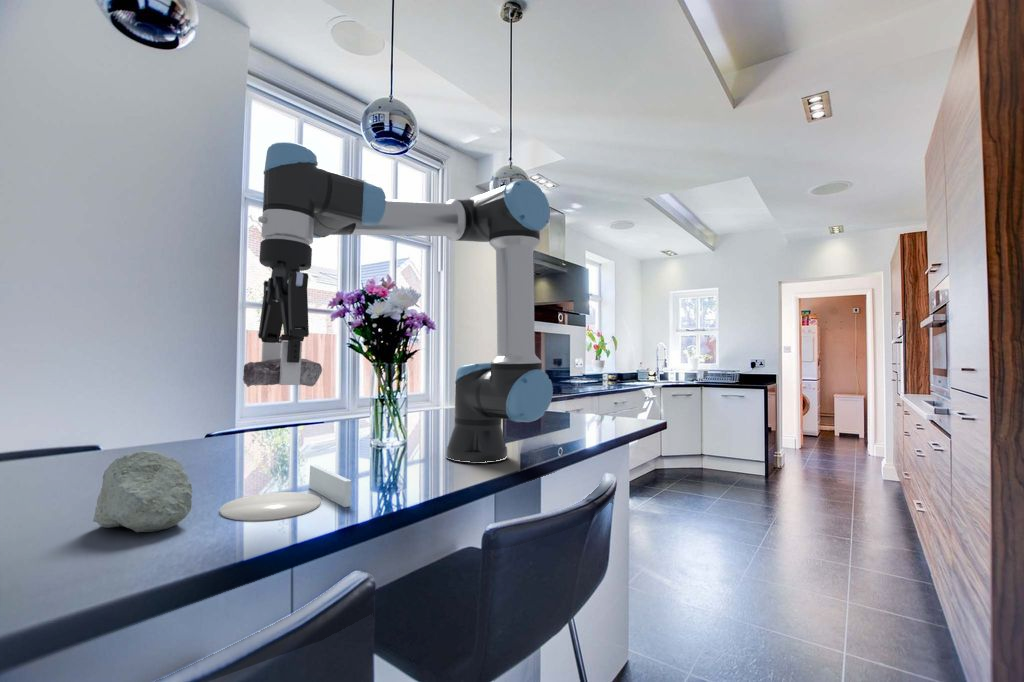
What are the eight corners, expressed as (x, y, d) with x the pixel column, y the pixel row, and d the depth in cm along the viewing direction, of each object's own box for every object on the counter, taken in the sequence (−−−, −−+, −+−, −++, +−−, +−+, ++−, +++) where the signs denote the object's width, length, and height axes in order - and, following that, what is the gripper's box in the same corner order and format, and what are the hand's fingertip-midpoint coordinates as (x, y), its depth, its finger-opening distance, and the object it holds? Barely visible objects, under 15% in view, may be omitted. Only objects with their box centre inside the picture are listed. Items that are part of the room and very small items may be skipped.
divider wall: (314, 486, 87) (315, 464, 87) (350, 506, 76) (351, 480, 76) (309, 487, 86) (310, 465, 87) (344, 507, 75) (345, 481, 76)
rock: (226, 385, 72) (228, 354, 73) (292, 384, 82) (294, 357, 83) (259, 388, 69) (261, 356, 69) (325, 387, 78) (326, 358, 79)
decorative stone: (92, 516, 67) (70, 468, 62) (180, 478, 75) (167, 432, 69) (123, 584, 61) (101, 537, 56) (215, 535, 69) (204, 489, 63)
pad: (302, 490, 85) (302, 487, 85) (334, 509, 74) (334, 506, 74) (210, 503, 75) (210, 501, 75) (232, 527, 65) (233, 524, 65)
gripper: (242, 249, 83) (235, 380, 81) (284, 224, 67) (275, 387, 65) (288, 256, 88) (281, 380, 86) (337, 235, 72) (330, 386, 70)
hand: (279, 383), depth 76 cm, fingers closed on rock, 9 cm apart
